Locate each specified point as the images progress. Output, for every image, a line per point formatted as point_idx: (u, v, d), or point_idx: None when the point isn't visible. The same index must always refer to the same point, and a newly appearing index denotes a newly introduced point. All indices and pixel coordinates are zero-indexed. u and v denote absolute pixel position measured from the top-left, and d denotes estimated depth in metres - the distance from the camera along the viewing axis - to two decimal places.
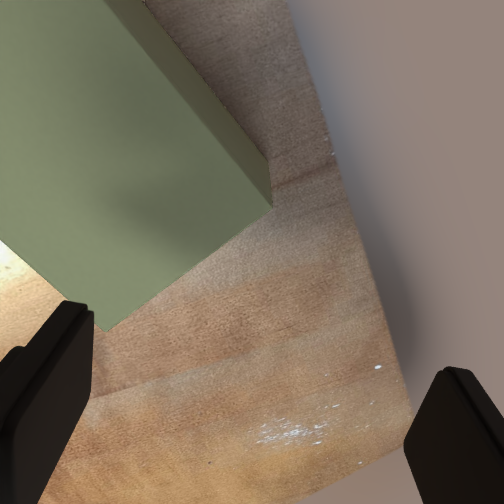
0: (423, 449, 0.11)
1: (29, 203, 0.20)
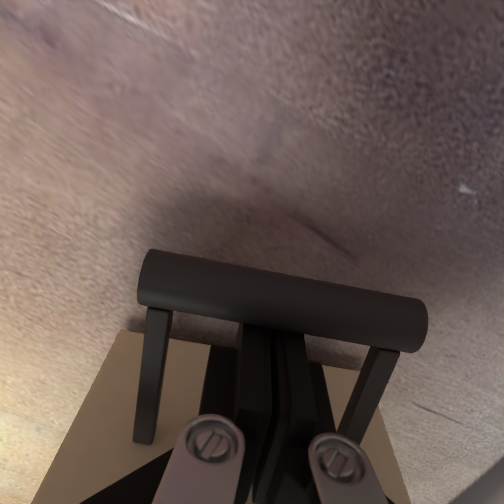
0: None
1: None
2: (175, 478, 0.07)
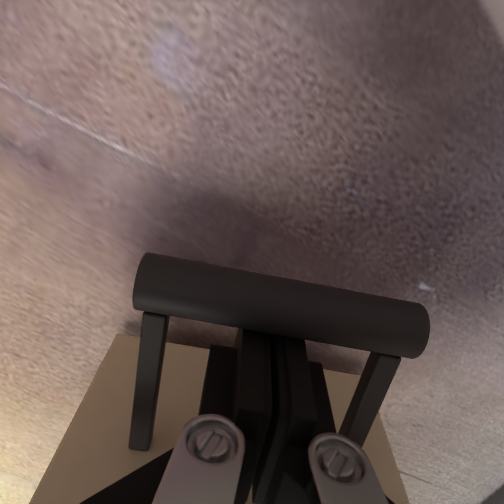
0: None
1: None
2: (175, 478, 0.07)
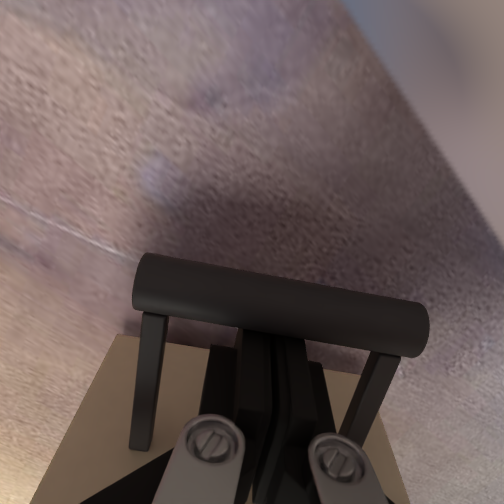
0: None
1: None
2: (175, 478, 0.07)
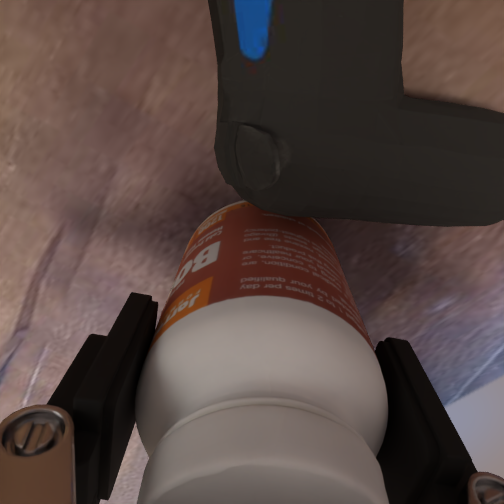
0: None
1: None
2: (0, 487, 0.06)
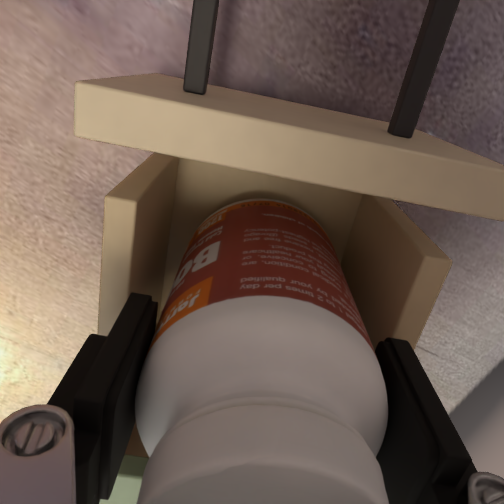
0: None
1: None
2: (0, 487, 0.06)
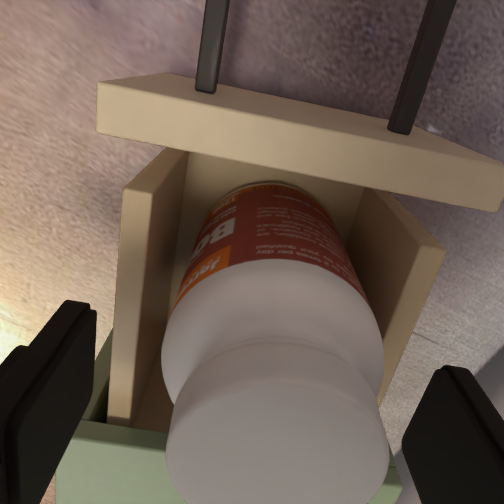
0: (421, 448, 0.11)
1: None
2: None
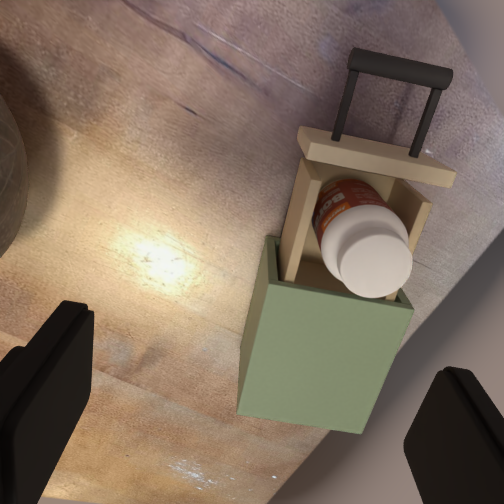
0: (423, 449, 0.11)
1: (284, 354, 0.34)
2: None
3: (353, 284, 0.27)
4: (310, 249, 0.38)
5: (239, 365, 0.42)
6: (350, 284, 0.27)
